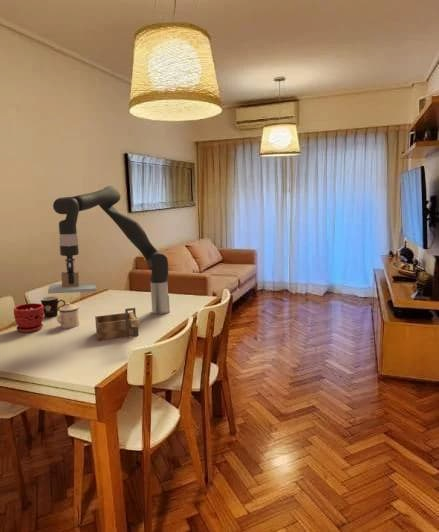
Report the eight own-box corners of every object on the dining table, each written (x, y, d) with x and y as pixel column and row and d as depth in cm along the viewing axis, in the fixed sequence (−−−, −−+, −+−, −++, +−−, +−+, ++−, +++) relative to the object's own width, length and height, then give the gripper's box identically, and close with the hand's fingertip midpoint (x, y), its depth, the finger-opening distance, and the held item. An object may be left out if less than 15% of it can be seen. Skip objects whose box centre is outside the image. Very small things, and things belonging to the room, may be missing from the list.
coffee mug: (38, 317, 211) (37, 299, 209) (50, 313, 219) (49, 295, 217) (55, 319, 207) (54, 301, 205) (67, 314, 214) (65, 297, 213)
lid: (95, 285, 181) (94, 269, 180) (96, 291, 169) (95, 274, 168) (50, 287, 175) (49, 271, 174) (48, 293, 163) (47, 276, 162)
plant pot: (18, 336, 182) (15, 311, 180) (14, 329, 192) (11, 305, 190) (48, 330, 190) (46, 306, 188) (42, 323, 200) (39, 301, 198)
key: (134, 317, 174) (134, 311, 174) (138, 326, 162) (138, 319, 162) (128, 318, 173) (127, 312, 173) (131, 327, 161) (131, 320, 161)
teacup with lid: (69, 321, 202) (67, 300, 200) (83, 323, 198) (81, 301, 196) (51, 329, 191) (49, 306, 189) (65, 331, 188) (63, 307, 186)
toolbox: (134, 327, 190) (133, 301, 188) (138, 336, 178) (137, 308, 176) (96, 332, 184) (94, 305, 182) (97, 342, 172) (95, 312, 170)
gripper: (60, 243, 175) (63, 280, 178) (58, 246, 162) (61, 286, 165) (78, 242, 177) (80, 279, 180) (77, 245, 164) (80, 285, 167)
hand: (71, 282), depth 172 cm, fingers closed on lid, 3 cm apart
